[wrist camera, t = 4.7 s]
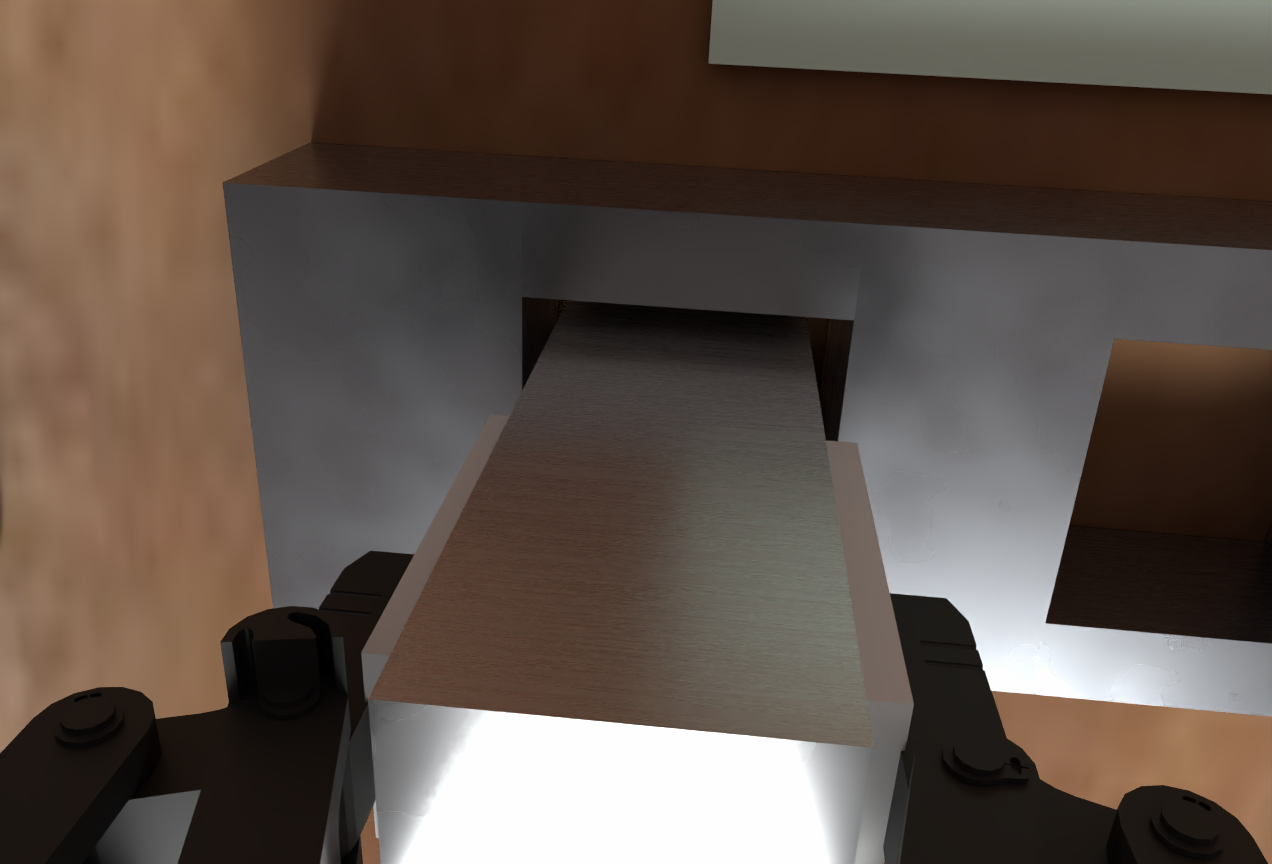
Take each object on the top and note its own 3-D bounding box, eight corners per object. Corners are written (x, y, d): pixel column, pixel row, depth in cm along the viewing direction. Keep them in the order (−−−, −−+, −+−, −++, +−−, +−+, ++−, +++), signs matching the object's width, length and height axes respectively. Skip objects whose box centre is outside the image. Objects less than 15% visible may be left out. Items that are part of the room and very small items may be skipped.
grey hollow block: (342, 526, 26) (274, 623, 22) (310, 142, 22) (223, 182, 18) (1390, 617, 24) (1504, 738, 20) (1550, 218, 20) (1726, 279, 17)
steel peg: (579, 462, 24) (393, 1034, 12) (583, 268, 22) (367, 699, 10) (779, 478, 24) (815, 1085, 11) (801, 283, 22) (874, 748, 9)
